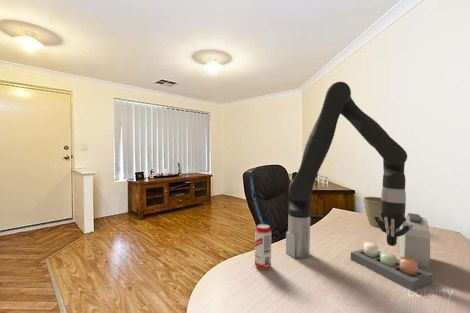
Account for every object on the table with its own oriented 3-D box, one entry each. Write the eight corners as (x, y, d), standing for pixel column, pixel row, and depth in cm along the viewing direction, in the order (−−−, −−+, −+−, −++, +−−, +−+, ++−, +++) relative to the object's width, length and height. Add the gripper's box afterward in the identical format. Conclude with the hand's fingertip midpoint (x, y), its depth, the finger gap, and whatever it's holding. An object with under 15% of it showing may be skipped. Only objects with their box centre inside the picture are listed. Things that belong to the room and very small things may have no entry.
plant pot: (359, 224, 139) (360, 199, 139) (367, 219, 150) (368, 195, 149) (387, 231, 128) (388, 203, 128) (394, 225, 139) (395, 199, 138)
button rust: (411, 277, 77) (412, 264, 77) (396, 270, 82) (396, 258, 82) (420, 274, 79) (420, 262, 79) (404, 267, 84) (405, 255, 84)
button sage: (390, 271, 84) (390, 259, 84) (377, 265, 88) (377, 253, 88) (398, 268, 86) (399, 257, 86) (385, 262, 90) (385, 251, 90)
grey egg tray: (411, 291, 74) (412, 282, 74) (350, 259, 95) (350, 252, 95) (432, 282, 79) (432, 274, 79) (369, 254, 100) (369, 247, 100)
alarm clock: (429, 276, 83) (431, 223, 82) (403, 270, 86) (405, 219, 86) (419, 254, 101) (421, 210, 100) (399, 250, 105) (400, 207, 104)
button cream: (372, 259, 90) (372, 248, 90) (360, 254, 95) (361, 243, 94) (380, 257, 92) (380, 246, 92) (368, 251, 97) (369, 241, 96)
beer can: (260, 272, 85) (261, 229, 84) (251, 264, 90) (252, 224, 90) (274, 268, 87) (274, 227, 87) (264, 260, 93) (265, 222, 92)
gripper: (369, 197, 90) (368, 240, 90) (406, 204, 78) (404, 254, 78) (381, 195, 93) (380, 237, 93) (419, 202, 81) (417, 250, 81)
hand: (391, 245), depth 86 cm, fingers closed
